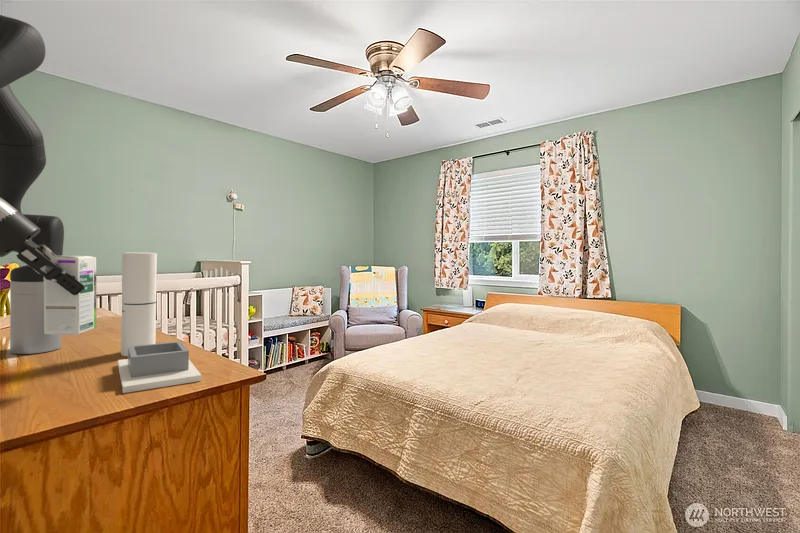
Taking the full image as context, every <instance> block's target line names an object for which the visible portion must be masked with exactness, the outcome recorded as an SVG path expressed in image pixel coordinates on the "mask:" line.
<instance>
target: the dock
mask: <svg viewBox="0 0 800 533" xmlns="http://www.w3.org/2000/svg"><path fill="white" fill-rule="evenodd" d="M117 367H118V373H119V379H120V386H121V391H122V394H126V393H133V392H139V391H145V390H146V391H147V390H151V389H159V388H165V387H171V386H177V385H183V384H189V383H190V384H191V383H195V382H196V383H197V382H201V381H202V374H201V372H200V371H199V370H198V369H197V367H196V366H195V365H194V363H193V362H192V361H191V360H190V351H189V349H188V348H187V347H186V345H185V344H184V343H183V342H182V341H180V340H179V341H171V342H170V341H169V342H160V343H155V344H147V345H137V346H128V356H127V359H126V358H124V359H118V360H117Z"/></svg>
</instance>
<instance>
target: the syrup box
mask: <svg viewBox="0 0 800 533" xmlns="http://www.w3.org/2000/svg"><path fill="white" fill-rule="evenodd" d="M54 257H55V258H56V259H57V260H58V261H60V266H61V267H62V268H63V269H65V270H66V272H67V273H68V274H70V275H71V276H72V277H73V278H75V279H76V280H77V281H79V282H80V283H81V284H83V285H84V286H85V288H84V290H82V291H81V292H80V293H78V294H77V295H72V294H71V293H70V292H68V291H67V290H66V289H64V288H63V287H62V286H60V285H59V284H58V283H56V282H53V281H50V280H47V279H45V277H44V334H51V335H61V336H79V335H81V334H82V333H85V332H89V331H91V330H96V328H97V257H96V256H92V255H86V254H85V255H84V254H83V255H81V254H80V255H79V254H74V255H71V254H69V255H68V254H67V255H65V254H64V255H62V256H54ZM67 273H66V274H67ZM66 274H65V275H66Z"/></svg>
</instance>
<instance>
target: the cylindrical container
mask: <svg viewBox="0 0 800 533" xmlns="http://www.w3.org/2000/svg"><path fill="white" fill-rule="evenodd" d="M121 257H122V258H121V261H122V262H121V267H122V268H121V320H120V321H121V328H120V329H121V330H120V332H121V334H120V337H121V338H120V354H121V355H120V356H123V357H128V346H137V345H147V344H156V334H157V333H156V332H157V330H156V329H157V328H156V326H157V324H156V321H157V319H156V318H157V277H158V276H157V275H158V274H157V270H158V268H157V266H158V253H156V252H134V251H133V252H122V254H121Z"/></svg>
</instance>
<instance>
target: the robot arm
mask: <svg viewBox="0 0 800 533" xmlns="http://www.w3.org/2000/svg"><path fill="white" fill-rule="evenodd" d="M45 57H46V45H45V41H44V39H43V36H42V35H41V33H40V32H39V31H38V30H37V29H36V28H35V26H33V25H31V24H29V23H28V22H25V21H22V20H20V19H17V18H13V17H10V16H5V15H1V14H0V258H4V257H5V256H8V255H9V254H11V253H13V252H15V253H17V254H16V258H17V259H18V260H20V261H21V262H22V263H23V264H24V265H23V266H18V267H15V268H13V269H11V270H10V274H9V276H10V278H9V280H10V282H9V285H10V286H9V287H10V288H9V291H10V296H9V298H10V301H9V303H10V305H9V306H10V309H9V310H10V315H9V316H10V317H9V318H10V322H9V323H10V325H9V326H10V330H9V332H10V333H9V334H10V335H9V339H10V340H9V353H11V354H14V355H15V354H16V355H29V354H40V353H46V352H52V351H56V350H59V349H60V348H61V347H62V335H51V334H44V277H45V279H47V280H50V281H53V282H56V283H58V284H59V285H60V286H62V287H63V288H64V289H66V290H67V291H68V292H70V293H71V294H72V295H77V294H78V293H80V292H81V291H82V290H84V288H85V286H84V285H83V284H81V283H80V282H79V281H77V280H76V279H75V278H73V277H72V276H71V275H70V274H68V273H67V272H66V270H65V269H63V268H62V267H61V266H60V261H58V260H57V259H56V258H55V257H54V256H63V252H64V242H65V241H64V240H65V227H64V223H63V221H62V219H61V218H60V217H58V216H55V215H46V214H45V215H44V214H42V215H41V214H27V213H25V214H24V213H22V209H21V207H22V200H23V198H24V196H25V195H26V194H27V191H28V190H29V189H30V187H31V186H32V185H33V184H34V183H35V182H36V180H37V179H38V178H39V176H40V175H41V174H42V172H43V170H44V169H45V166H46V165H47V156H46V148H45V142H44V135H43V134H42V131H41V129H40V128H39V126H38V124H37V122H36V121H35V120H34V119H33V117H32V116H31V115H30V114H29V111H27V110H26V109H25V107H24V106H23V104H21V102H20V101H19V99H18V98H17V97H16V95H15V93H14V92H13V90H12V88H11V86H10V84H12V83H14V82H16V81H18V80H19V79H21V78H23V77H25V76H27V75H30V74H31V73H32V72H34V71H36V70H37V69H38V68H39V67H41V65H42V64H43V62H44V60H45ZM66 273H67V274H66ZM65 274H66V275H65Z"/></svg>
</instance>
